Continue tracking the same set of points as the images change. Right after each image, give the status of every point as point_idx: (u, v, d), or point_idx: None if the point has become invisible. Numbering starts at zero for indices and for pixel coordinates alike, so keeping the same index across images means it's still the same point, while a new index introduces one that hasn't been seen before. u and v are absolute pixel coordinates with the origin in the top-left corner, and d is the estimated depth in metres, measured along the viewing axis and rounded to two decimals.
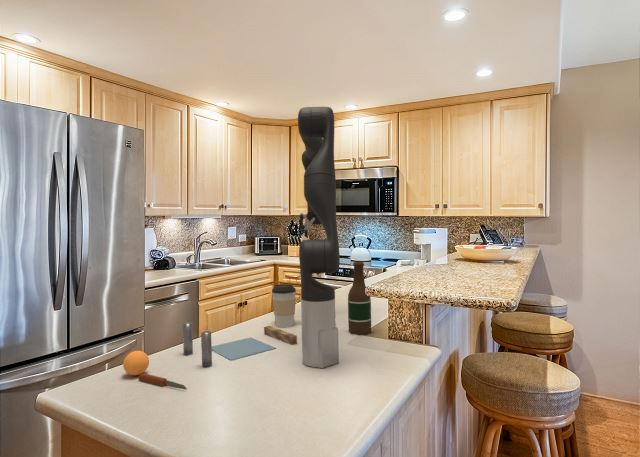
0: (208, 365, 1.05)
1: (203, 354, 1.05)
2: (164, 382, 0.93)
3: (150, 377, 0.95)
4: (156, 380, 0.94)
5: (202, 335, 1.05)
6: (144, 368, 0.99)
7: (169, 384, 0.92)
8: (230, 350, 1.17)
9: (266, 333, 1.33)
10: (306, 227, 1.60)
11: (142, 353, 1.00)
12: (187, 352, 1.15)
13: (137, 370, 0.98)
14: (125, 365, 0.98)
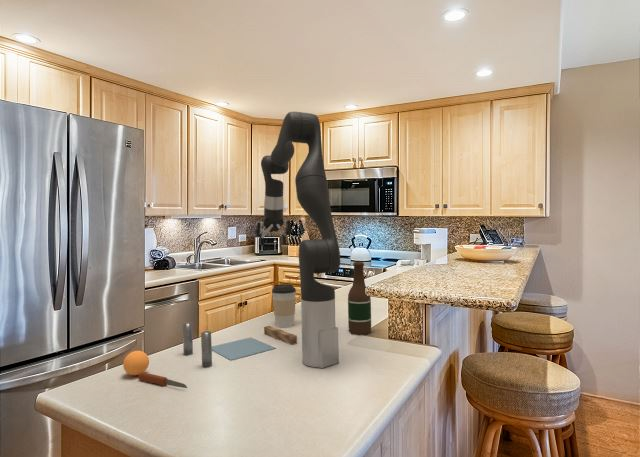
0: (208, 365, 1.05)
1: (203, 354, 1.05)
2: (164, 381, 0.93)
3: (150, 376, 0.95)
4: (156, 379, 0.94)
5: (202, 335, 1.05)
6: (144, 368, 0.99)
7: (170, 383, 0.93)
8: (230, 350, 1.17)
9: (266, 333, 1.33)
10: (263, 235, 1.56)
11: (142, 353, 1.00)
12: (187, 352, 1.15)
13: (137, 370, 0.98)
14: (125, 365, 0.98)
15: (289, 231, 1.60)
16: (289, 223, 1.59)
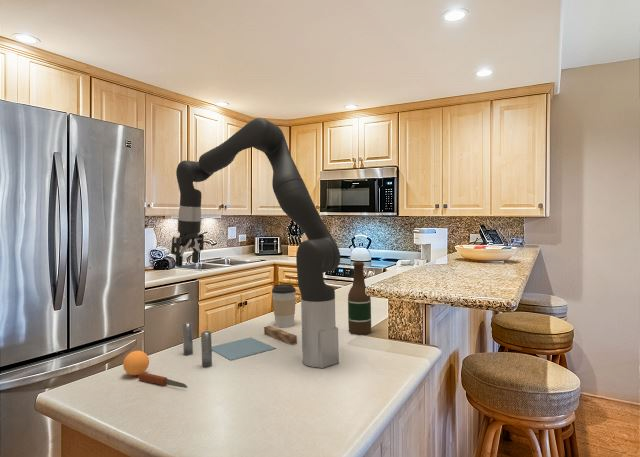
0: (208, 365, 1.05)
1: (203, 354, 1.05)
2: (165, 381, 0.93)
3: (150, 376, 0.95)
4: (156, 379, 0.94)
5: (202, 335, 1.05)
6: (144, 368, 0.99)
7: (170, 383, 0.93)
8: (230, 350, 1.17)
9: (266, 333, 1.33)
10: (182, 252, 1.34)
11: (142, 353, 1.00)
12: (187, 352, 1.15)
13: (137, 370, 0.98)
14: (125, 365, 0.98)
15: (202, 246, 1.44)
16: (202, 237, 1.43)
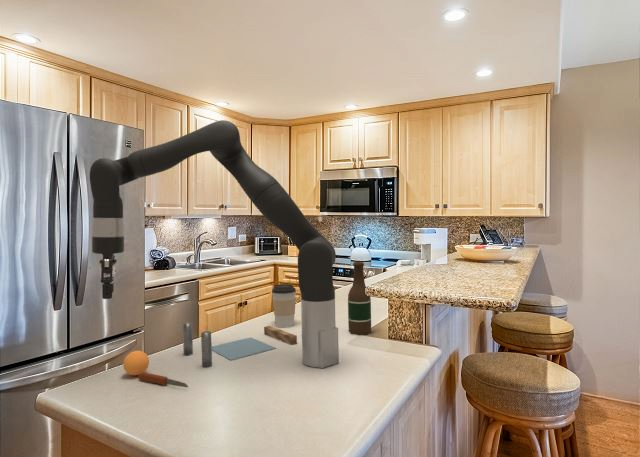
0: (208, 365, 1.05)
1: (203, 354, 1.05)
2: (165, 380, 0.93)
3: (150, 376, 0.95)
4: (157, 379, 0.94)
5: (202, 335, 1.05)
6: (144, 368, 0.99)
7: (170, 382, 0.93)
8: (230, 350, 1.17)
9: (266, 333, 1.33)
10: (112, 279, 1.02)
11: (142, 353, 1.00)
12: (187, 352, 1.15)
13: (137, 370, 0.98)
14: (125, 365, 0.98)
15: None
16: None
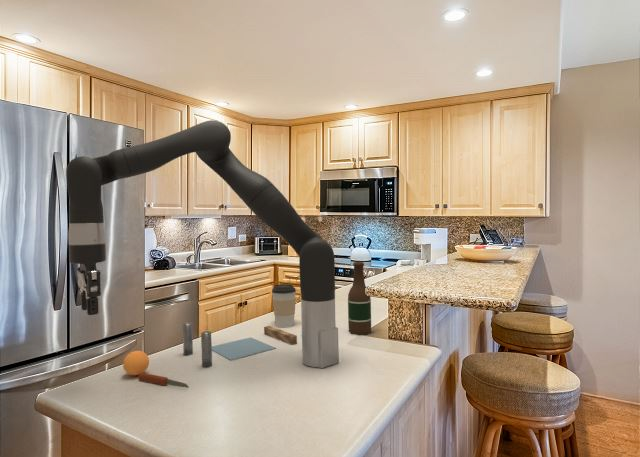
0: (208, 365, 1.05)
1: (203, 354, 1.05)
2: (165, 381, 0.93)
3: (151, 376, 0.95)
4: (157, 379, 0.94)
5: (202, 335, 1.05)
6: (144, 368, 0.99)
7: (171, 383, 0.93)
8: (230, 350, 1.17)
9: (266, 333, 1.33)
10: None
11: (142, 353, 1.00)
12: (187, 352, 1.15)
13: (137, 370, 0.98)
14: (125, 365, 0.98)
15: None
16: None
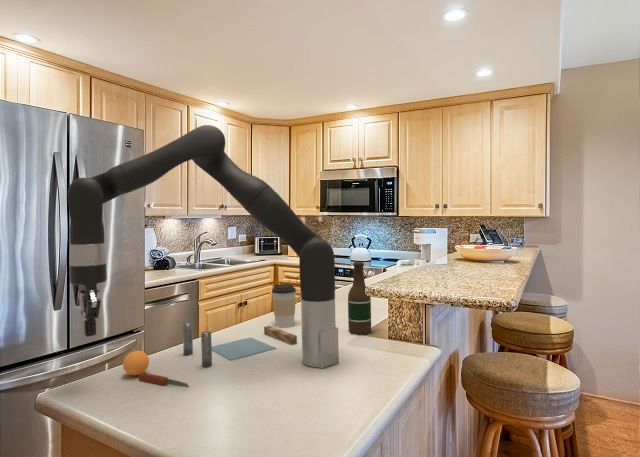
0: (208, 365, 1.05)
1: (203, 354, 1.05)
2: (165, 381, 0.93)
3: (151, 376, 0.95)
4: (157, 379, 0.94)
5: (202, 335, 1.05)
6: (144, 368, 0.99)
7: (171, 382, 0.93)
8: (230, 350, 1.17)
9: (266, 333, 1.33)
10: None
11: (142, 353, 1.00)
12: (187, 352, 1.15)
13: (137, 370, 0.98)
14: (125, 365, 0.98)
15: None
16: None
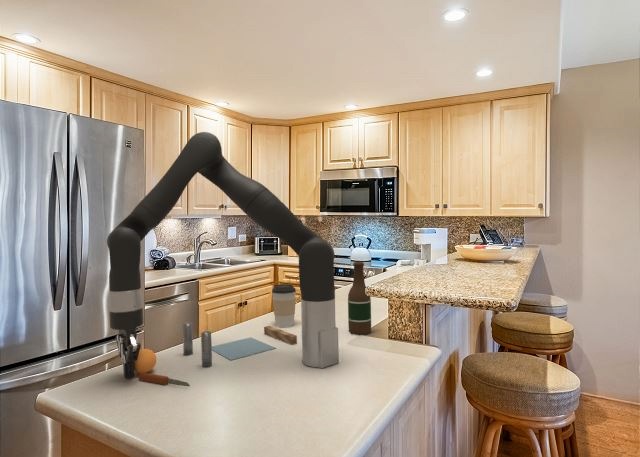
0: (208, 365, 1.05)
1: (203, 354, 1.05)
2: (166, 380, 0.94)
3: (151, 376, 0.95)
4: (157, 378, 0.94)
5: (202, 335, 1.05)
6: (150, 368, 1.00)
7: (171, 382, 0.93)
8: (230, 350, 1.17)
9: (266, 333, 1.33)
10: None
11: (153, 353, 1.02)
12: (187, 352, 1.15)
13: (143, 367, 0.99)
14: None
15: None
16: None
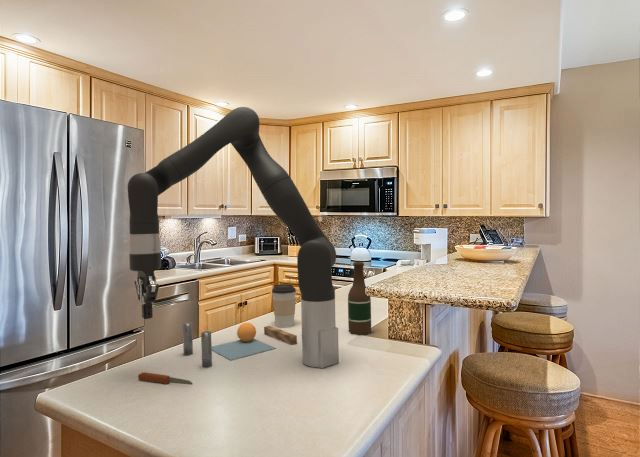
0: (208, 365, 1.05)
1: (203, 354, 1.05)
2: (167, 379, 0.94)
3: (151, 375, 0.96)
4: (159, 378, 0.95)
5: (202, 335, 1.05)
6: (255, 331, 1.26)
7: (173, 380, 0.94)
8: (230, 350, 1.17)
9: (266, 333, 1.33)
10: None
11: (244, 328, 1.24)
12: (187, 352, 1.15)
13: (253, 336, 1.25)
14: (244, 341, 1.25)
15: None
16: None
